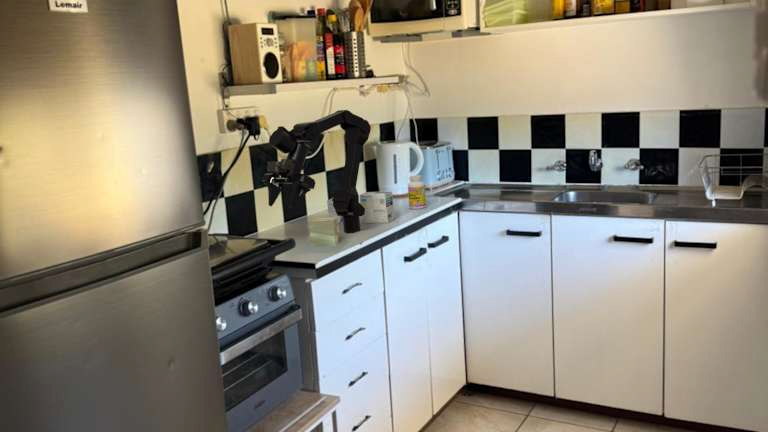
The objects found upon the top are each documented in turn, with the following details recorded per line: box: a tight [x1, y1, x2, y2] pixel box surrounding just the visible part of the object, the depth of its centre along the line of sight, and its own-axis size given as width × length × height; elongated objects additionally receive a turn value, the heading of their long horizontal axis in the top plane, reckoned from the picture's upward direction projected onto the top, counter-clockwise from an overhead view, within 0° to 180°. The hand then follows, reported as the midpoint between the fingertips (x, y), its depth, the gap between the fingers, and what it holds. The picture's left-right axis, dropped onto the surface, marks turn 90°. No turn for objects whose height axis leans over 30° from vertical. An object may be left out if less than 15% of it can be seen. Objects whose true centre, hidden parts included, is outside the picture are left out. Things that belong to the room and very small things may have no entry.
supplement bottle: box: [407, 174, 427, 210], centre depth 285 cm, size 7×7×13 cm
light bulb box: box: [359, 190, 396, 224], centre depth 263 cm, size 11×7×11 cm, turn 66°
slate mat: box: [292, 240, 350, 255], centre depth 223 cm, size 16×14×1 cm
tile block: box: [308, 217, 341, 246], centre depth 227 cm, size 5×8×8 cm, turn 79°
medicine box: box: [326, 197, 343, 224], centre depth 271 cm, size 8×4×9 cm, turn 170°
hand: (279, 206), depth 220 cm, fingers open, 9 cm apart
